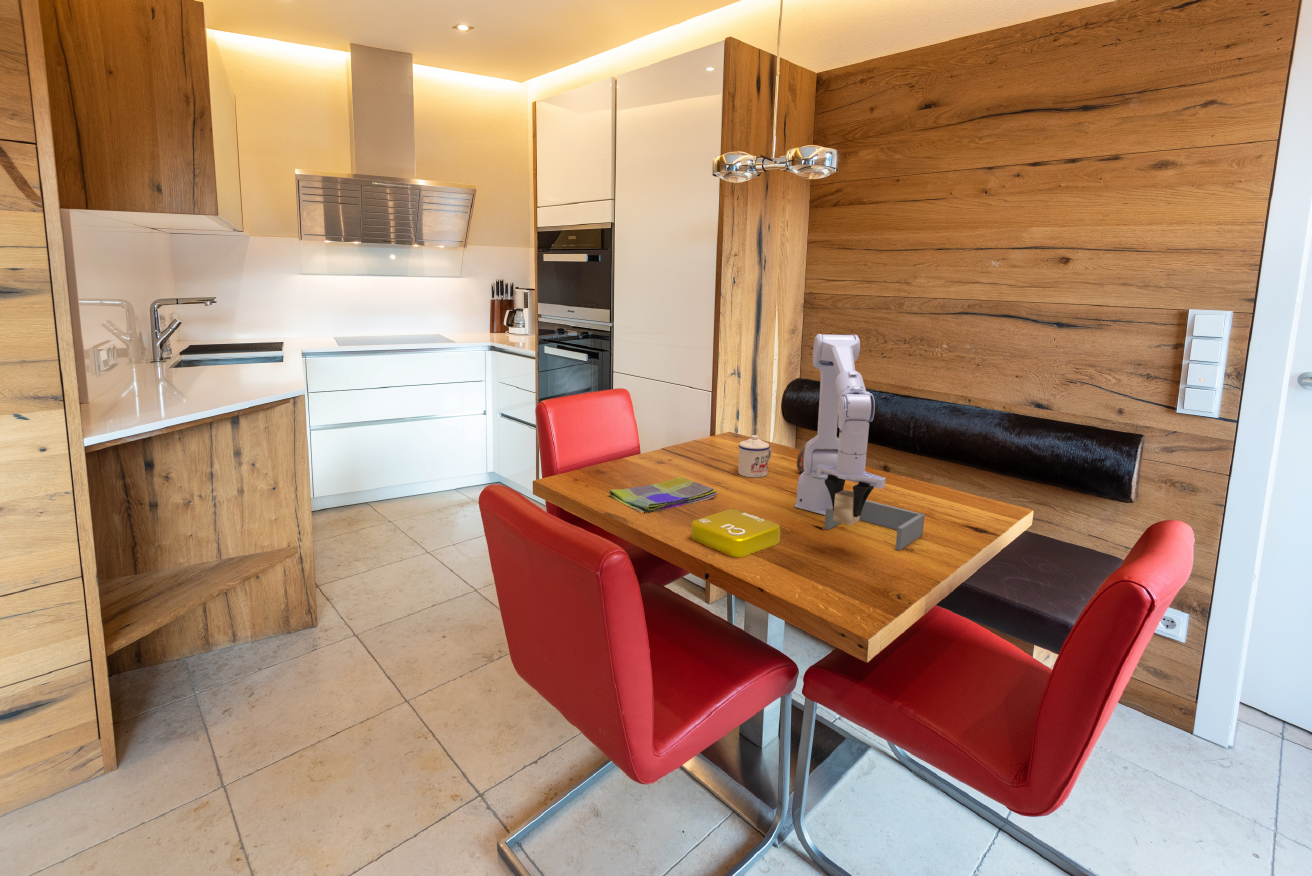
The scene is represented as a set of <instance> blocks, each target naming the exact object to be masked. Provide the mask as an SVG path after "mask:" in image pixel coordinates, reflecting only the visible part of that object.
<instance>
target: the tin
mask: <svg viewBox="0 0 1312 876" xmlns="http://www.w3.org/2000/svg"><path fill="white" fill-rule="evenodd" d="M805 445H806V444H804V445H803V446H802V447H801V448H800V450H799V452H798V455H797V459H796V468H797V469H796V470H797V471H798V472H801V473H803V472H804V471H805V470H804V465H803V459H804V452H805ZM818 449H824V448H818Z"/></svg>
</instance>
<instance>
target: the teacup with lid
mask: <svg viewBox="0 0 1312 876" xmlns="http://www.w3.org/2000/svg"><path fill="white" fill-rule="evenodd" d="M738 447H739V448H738V464H737V465H738V467H737V473H738V474H739V475H740V476H742V477H747V478H752V479H753V478H754V479H755V478H764V477H766V476H767V475H768V472H769V471H768V468H769V466H768V465H769V462H770V461H771V457H772V452H773V451H772V449H771V447H770V444H769V443H768V442H766V441H763V440H762V439H760V438H759V436H758V435H757V434H756V435H755V434H752V435H751V436H750V437H749V438H748V439H746V440H742V441H740V442H739V443H738Z"/></svg>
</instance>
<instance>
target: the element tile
mask: <svg viewBox="0 0 1312 876" xmlns="http://www.w3.org/2000/svg"><path fill="white" fill-rule="evenodd" d="M690 538H691V540H692V539H693V540H692V541H694V542H696V543H698V542H699V543H698V544H700V543H701V544H700V545H703V544H704V546H705V545H706V546H705V547H708V548H710V547H711V548H710V549H712V548H713V549H712V550H715V549H716V550H715V551H717V550H718V552H719V551H721V552H720V553H722V552H723V554H724V553H726V554H727V555H726V554H725V555H726V556H729V557H732V558H736V557H737V558H738V557H740V558H745V557H747V555H748V556H751V555H752V554H751V553H753V554H755V552H756V553H758V552H761V551H763V550H766V549H768V548H772V547H773V546H775V545H778V544H780V542H781V541H780V539H781V525H780V524H779V523H776V522H774V521H772V520H769V519H765V518H763V517H760V516H757V515H754V514H751V513H750V512H749V513H748V512H746V511H742V510H740V509H737V508H730V509H726V510H723V511H719V512H717V513H713V514H710V515H706V516H703V517H701V518H697V519H694V520H693V521H691V537H690ZM760 550H761V551H760ZM757 551H758V552H757Z"/></svg>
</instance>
